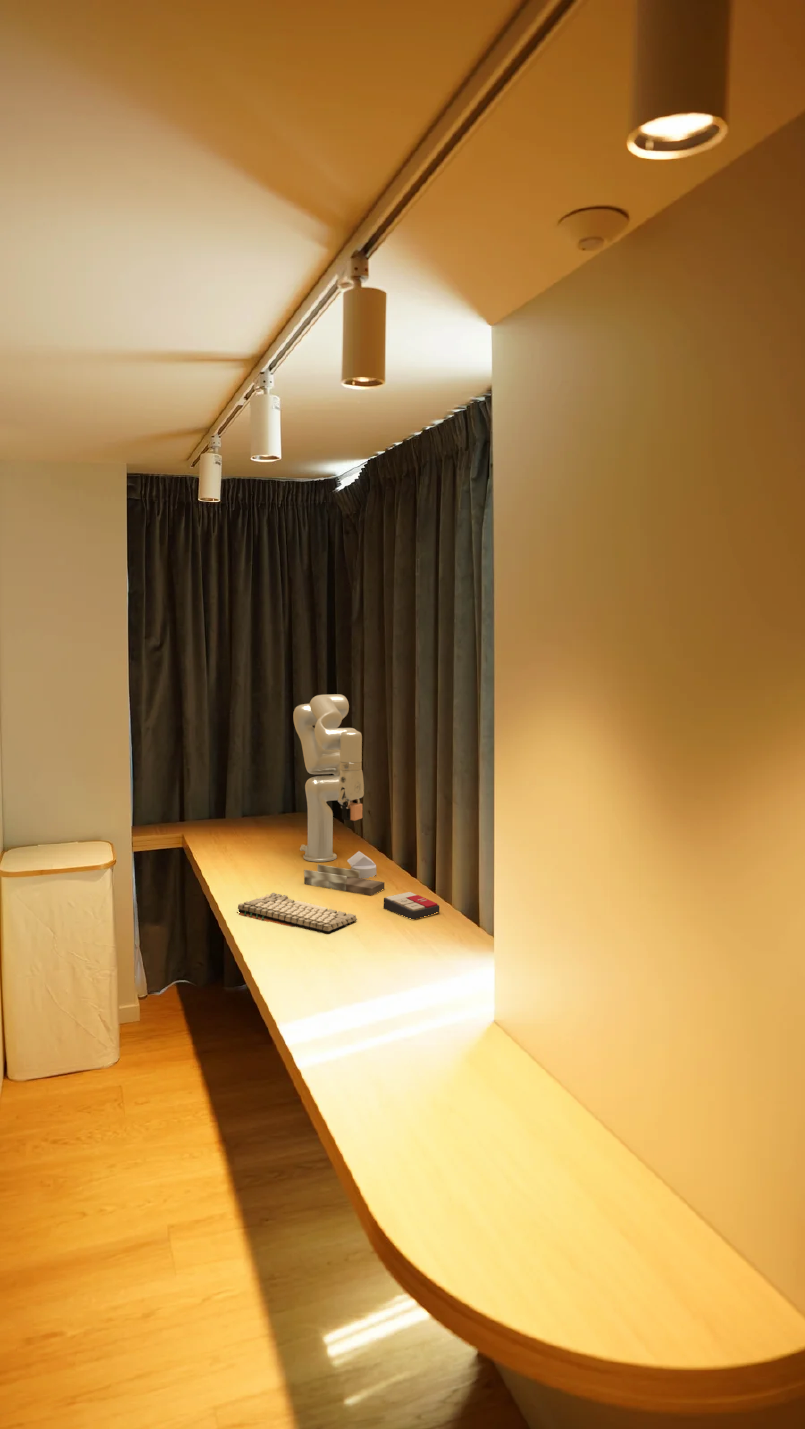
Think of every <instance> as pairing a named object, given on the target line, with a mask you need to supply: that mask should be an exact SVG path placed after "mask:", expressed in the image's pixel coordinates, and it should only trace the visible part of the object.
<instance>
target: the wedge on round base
mask: <svg viewBox="0 0 805 1429" xmlns="http://www.w3.org/2000/svg"><path fill="white" fill-rule="evenodd" d="M346 861H347V863H348V864H349V865H350V867H351V868H350V870H356V871H359V878H362V879H370V878H369V877H372V878H374V877H373V876H375V875H376V876H377V864H376V863H375V862H374V861H373V860H372V858H370V857H368V856H367V855H365V854H364V853H363V852H361V851H360V850H358V851H357V852H356V853H354V855H352V856H351V857H350V858H348V859H347V860H346ZM376 876H375V877H376Z"/></svg>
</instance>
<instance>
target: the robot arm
mask: <svg viewBox="0 0 805 1429" xmlns="http://www.w3.org/2000/svg"><path fill="white" fill-rule="evenodd" d="M349 708H350V705H349V701H348V699H347V697H346V696H345V695H343V694H338V693H337V694H335V693H334V694H317V695H315V696H314V697H312V698H311V700H310V702H309V703H304V704H303V703H302V704H298V705H297V706H296V707H294V711H293V724H294V727H295V732H296V733H297V735H298V738H299V740H300V743H301V748H302V754H303V755H302V756H303V760H304V765H305V769H306V771H307V773H309V774H311V775H317V776H313V777H310V778H308V779H307V780H306V782H305V785H304V789H305V796H306V805H307V844H301V845H300V847H299V852H300V851H302V852H304V853H305V854H303V859H304V860H305V861H309V862H314V863H315V862H316V863H322V862H323V863H324V862H325V863H326V862H331V861H334V860H336V859H337V854H336V853H335V852H333V848H334V847H333V840H334V838H333V837H334V836H333V835H334V834H333V833H334V831H333V828H334V827H333V824H334V823H333V822H334V820H333V818H334V817H333V816H334V813H333V810H332V808H331V807H330V806H329V805H328V803H327V802H330V801H337V802H338V803H339V805H340V809H341V819H342V820H343V821H351V820H350V809H349V807H350V802H352V803H359V804H361V800H362V798H363V797H364V795H365V784H364V783H365V782H364V773H363V770H362V762H363V760H362V759H363V756H362V754H363V751H362V750H363V748H362V746H363V743H362V742H363V736H362V732H361V731H359V730H357V729H355V728H353V727H340V725H341V724H342V720H343V719H344V718H345V717H347V715H348V713H349ZM313 726H314V727H313ZM329 774H330V775H329ZM331 774H332V775H331Z"/></svg>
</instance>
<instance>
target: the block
mask: <svg viewBox="0 0 805 1429" xmlns="http://www.w3.org/2000/svg"><path fill="white" fill-rule="evenodd" d="M349 809H350V820H349V821H358V820H361V819H363V810H364V809H363V803H360V804H359V803H352V802H351V801H350V807H349Z"/></svg>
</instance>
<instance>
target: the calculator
mask: <svg viewBox="0 0 805 1429" xmlns="http://www.w3.org/2000/svg"><path fill="white" fill-rule="evenodd" d="M383 909H384V910H386V909H387V910H386V911H389V912H393V911H394V912H393V913H395V912H396V913H395V914H397V913H398V914H397V915H399V914H400V915H399V916H401V915H403V916H402V917H404V916H405V917H404V918H406V917H408V918H407V919H409V918H411V919H415V920H417V919H416V918H419V919H421V918H420V917H423V918H425V917H424V916H428V915H431V914H434V913H436V912H439V913H440V905H439V903H437V902H435V901H433V900H430V899H428V898H426V897H423V896H421V895H418V894H416V893H413V892H411V891H408V892H407V891H406V892H403V893H398V894H395V895H389V896H386V897H384V898H383ZM428 917H429V916H428ZM411 919H410V920H411Z"/></svg>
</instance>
